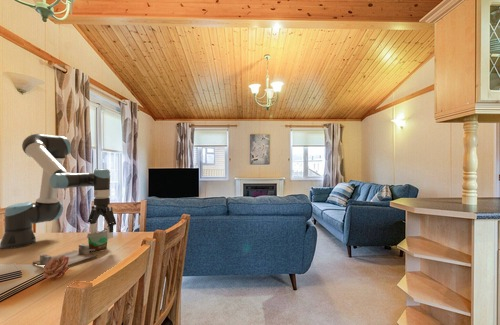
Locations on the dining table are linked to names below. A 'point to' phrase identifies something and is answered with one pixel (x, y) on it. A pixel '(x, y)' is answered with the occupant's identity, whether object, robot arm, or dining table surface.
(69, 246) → the dining table surface
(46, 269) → the flower
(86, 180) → the robot arm
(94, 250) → the food container
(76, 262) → the base
